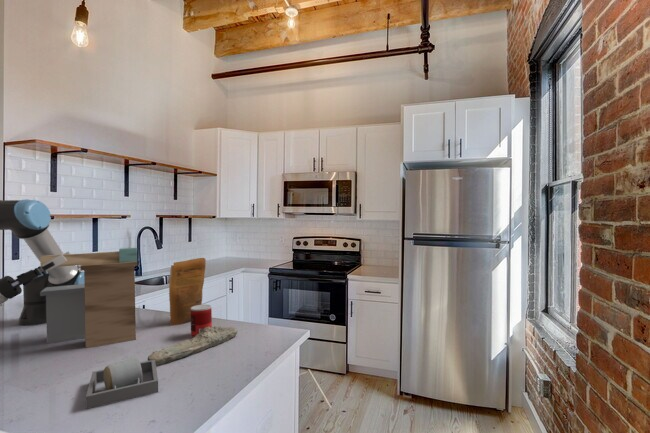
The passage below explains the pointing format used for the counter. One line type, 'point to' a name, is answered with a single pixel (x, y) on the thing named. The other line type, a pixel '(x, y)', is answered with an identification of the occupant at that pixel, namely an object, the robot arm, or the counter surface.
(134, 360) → the white cylinder
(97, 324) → the walnut pedestal
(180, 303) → the pancake mix bag
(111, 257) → the oak beam
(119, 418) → the counter surface
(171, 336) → the counter surface
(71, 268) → the robot arm
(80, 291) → the tall grey box
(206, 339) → the long grey stone
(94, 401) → the frame
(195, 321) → the canned food
